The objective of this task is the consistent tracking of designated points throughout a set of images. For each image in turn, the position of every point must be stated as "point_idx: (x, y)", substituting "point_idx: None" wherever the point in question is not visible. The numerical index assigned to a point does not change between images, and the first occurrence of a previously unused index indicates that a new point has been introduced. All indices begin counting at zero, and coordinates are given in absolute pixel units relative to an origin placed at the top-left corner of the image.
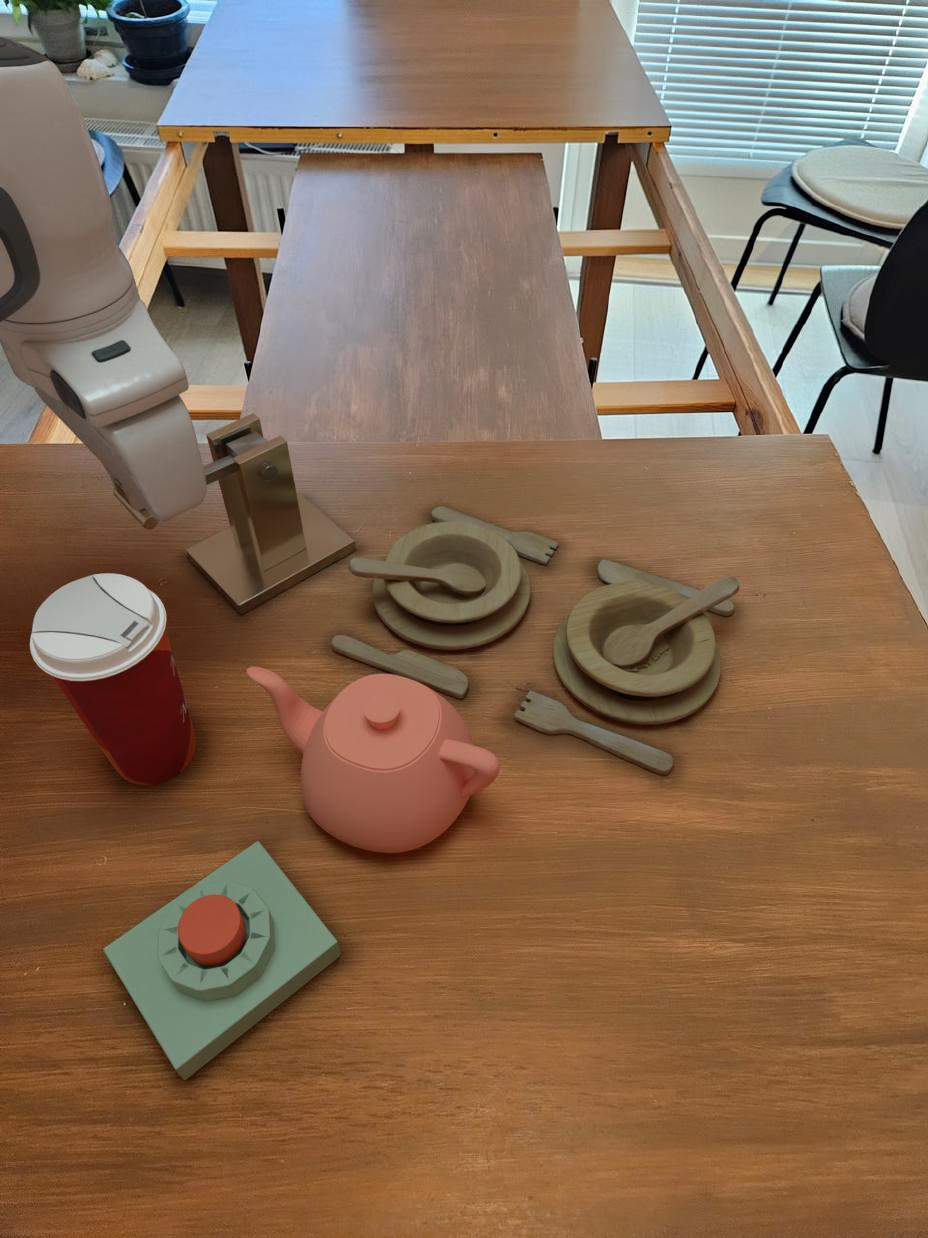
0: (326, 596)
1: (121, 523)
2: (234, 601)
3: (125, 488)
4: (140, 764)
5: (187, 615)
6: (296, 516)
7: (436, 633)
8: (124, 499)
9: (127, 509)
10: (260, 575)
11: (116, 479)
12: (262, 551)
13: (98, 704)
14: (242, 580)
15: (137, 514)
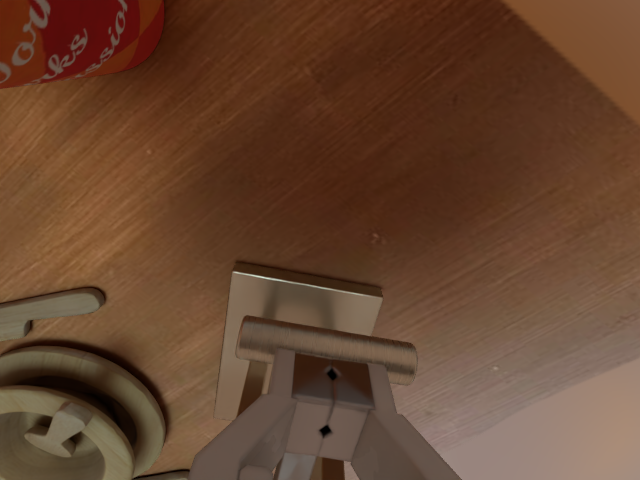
0: (181, 340)
1: (522, 279)
2: (243, 272)
3: (248, 419)
4: None
5: (295, 217)
6: None
7: (10, 372)
8: (331, 359)
9: (337, 332)
10: None
11: (360, 413)
12: None
13: None
14: (267, 303)
15: (278, 338)
